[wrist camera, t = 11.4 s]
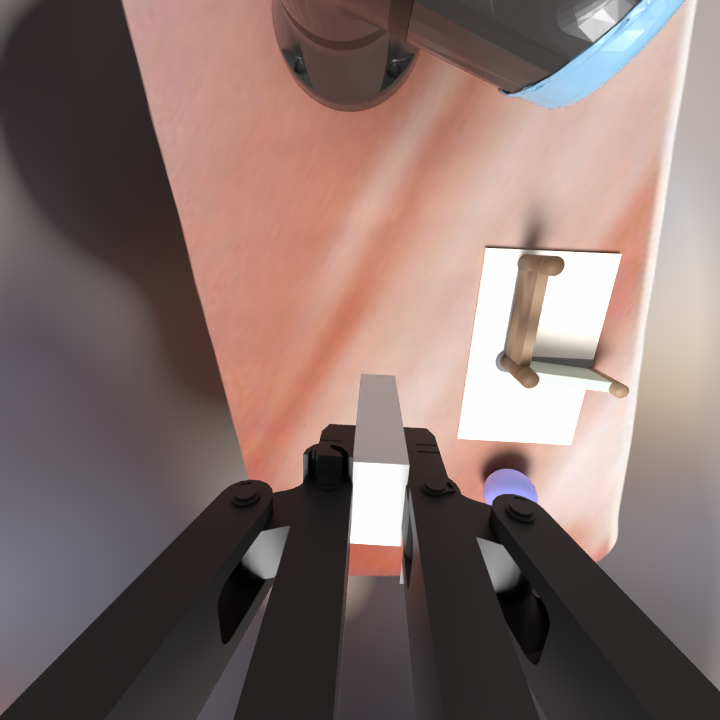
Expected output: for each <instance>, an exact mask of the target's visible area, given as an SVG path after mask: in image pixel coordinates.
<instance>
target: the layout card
mask: <svg viewBox="0 0 720 720" xmlns="http://www.w3.org/2000/svg"><path fill="white" fill-rule="evenodd" d="M525 254H532V255H549V256H559V257H561V258H562V259H563V260H564V262H565V267H564V269H563V271H562V272H561V273H560V274H559V275H557V276H549V277H548V282H547V287H546V292H545V296H544V301H543V306H542V311H541V316H540V320H539V325H538V330H537V335H536V340H535V344H534V349H533V354H532V359H531V361H537V362H544V363H551V364H558V365H565V366H573V367H580V368H587V369H588V368H592V365H593V362H594V356H595V352H596V348H597V345H598V341H599V337H600V334H601V330H602V326H603V322H604V319H605V315H606V311H607V307H608V304H609V300H610V296H611V292H612V289H613V285H614V281H615V277H616V274H617V270H618V266H619V263H620V259H621V255H622V254H609V253H587V252H564V251H542V250H520V249H497V248H485V252H484V259H483V266H482V273H481V279H480V286H479V293H478V300H477V306H476V313H475V320H474V326H473V333H472V340H471V347H470V353H469V360H468V367H467V374H466V380H465V387H464V394H463V401H462V407H461V414H460V421H459V428H458V434H457V438H458V439H475V440H493V441H510V442H528V443H546V444H563V445H571V442H572V438H573V434H574V431H575V427H576V423H577V420H578V416H579V412H580V408H581V405H582V401H583V397H584V393H585V390H586V389H581V388H574V387H567V386H559V385H552V384H545V383H538V385H537V386H536V387H534V388H531V389H527V388H525V387H523V386H522V385H521V384H520V383H519V382H518V381H517V380H516V379H515V378H514V377H513V376H512V375H511V374H510V373H508V372H507V371H506V370H505V369H504V368H503V367H502V366H501V364H500V360H501V358H502V357H503V356H504V355H506V354H505V349H506V344H507V338H508V333H509V327H510V322H511V316H512V311H513V305H514V300H515V294H516V289H517V283H518V278H519V272H520V269H519V268H518V265H517V263H518V260H519V258H520V257H521V256H523V255H525Z"/></svg>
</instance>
